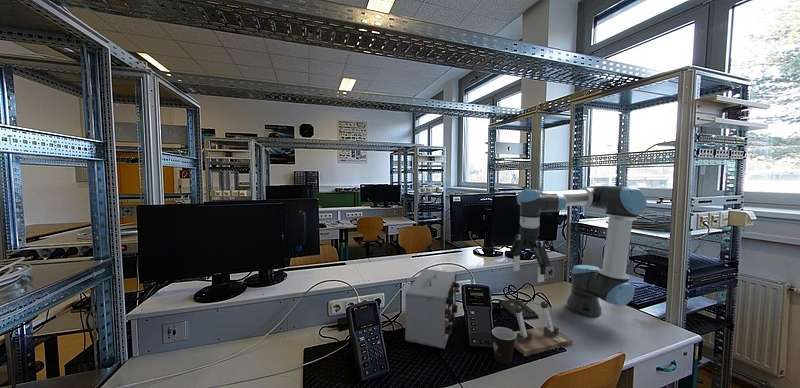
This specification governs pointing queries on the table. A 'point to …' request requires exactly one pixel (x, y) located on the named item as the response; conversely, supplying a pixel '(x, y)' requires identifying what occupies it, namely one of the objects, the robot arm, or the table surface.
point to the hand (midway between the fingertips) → (527, 275)
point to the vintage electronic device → (431, 308)
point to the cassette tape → (526, 313)
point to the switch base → (540, 340)
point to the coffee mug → (503, 344)
